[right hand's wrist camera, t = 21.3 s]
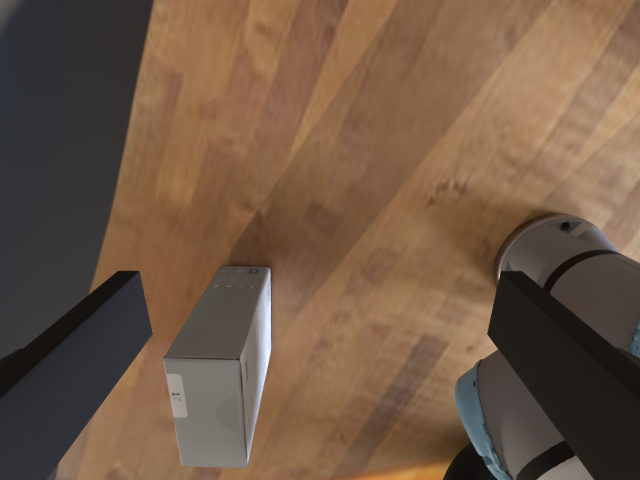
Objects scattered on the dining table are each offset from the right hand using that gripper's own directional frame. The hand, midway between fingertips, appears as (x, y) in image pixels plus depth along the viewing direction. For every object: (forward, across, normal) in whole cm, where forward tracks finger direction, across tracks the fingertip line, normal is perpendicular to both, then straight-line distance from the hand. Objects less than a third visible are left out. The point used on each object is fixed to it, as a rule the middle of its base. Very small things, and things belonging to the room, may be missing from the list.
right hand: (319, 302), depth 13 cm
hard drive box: (+35, +11, +23) cm, 44 cm away
